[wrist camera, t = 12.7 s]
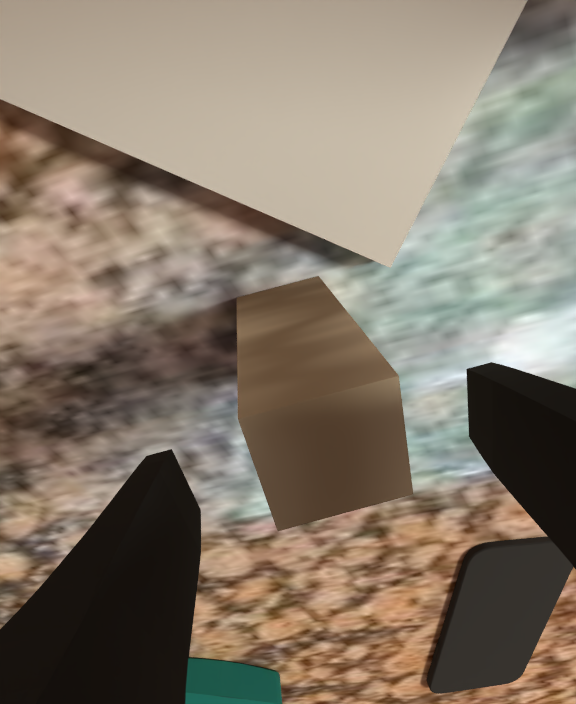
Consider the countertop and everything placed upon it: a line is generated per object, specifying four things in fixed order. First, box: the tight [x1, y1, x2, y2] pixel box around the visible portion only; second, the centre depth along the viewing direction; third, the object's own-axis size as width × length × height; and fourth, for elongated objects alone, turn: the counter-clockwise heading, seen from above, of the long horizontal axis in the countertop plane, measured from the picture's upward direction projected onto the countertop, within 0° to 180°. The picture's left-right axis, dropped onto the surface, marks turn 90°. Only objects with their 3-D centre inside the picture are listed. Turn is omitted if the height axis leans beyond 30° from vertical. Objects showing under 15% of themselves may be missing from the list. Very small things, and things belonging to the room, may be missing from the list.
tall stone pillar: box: [237, 276, 413, 531], centre depth 12 cm, size 3×3×8 cm
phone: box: [427, 537, 573, 693], centre depth 26 cm, size 7×1×15 cm
